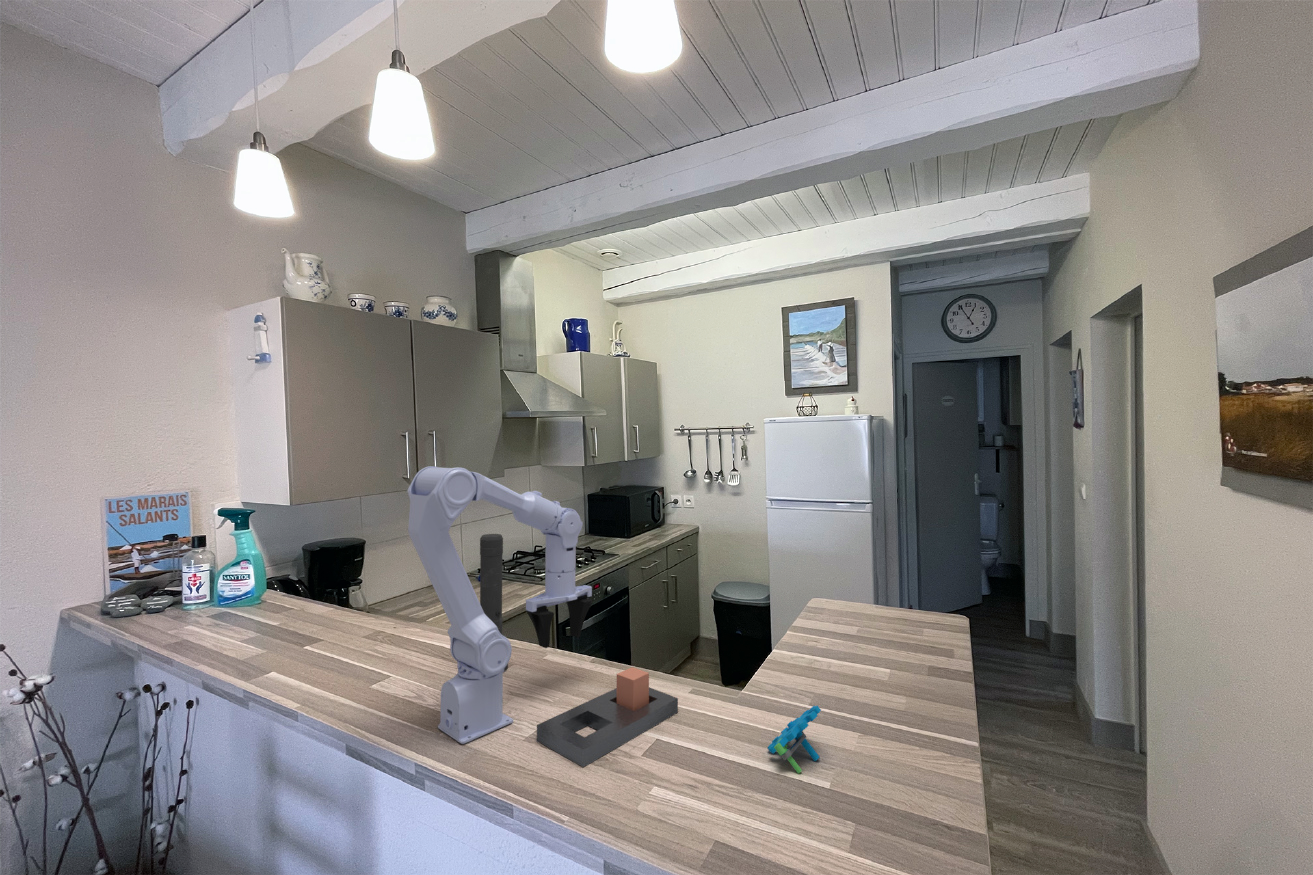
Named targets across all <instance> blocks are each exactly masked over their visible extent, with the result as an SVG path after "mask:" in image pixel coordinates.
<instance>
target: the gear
mask: <svg viewBox="0 0 1313 875" xmlns="http://www.w3.org/2000/svg"><path fill="white" fill-rule="evenodd" d="M821 711H822V710H821V708H820V707H819V705H812V707H811V708H809V709H807V710H805V711H804V712H803V713H802V714H801V715H800V716H799V717H796V718H794V719H793V720H791V721H789V722H787V724H786V726H787V727H785V728H784V729H783V730H782V731H780V733H781V734H780V735H777V736H776V737H774V739H773V740H772V741H771V743H770V744H769V745H768V746H767V749H768V751H769V752H770V753H771V754H775V753H776V752H777V753H778V755H779V756H780V757H781V758H782V759H783V761H786V760H787V761H788V762H789V763H790V765H791V766H792V768H793V769H794V771H796V773H797V774H800V773H802V771H803V770H802V768H801V767H800V765H799V764H798V763H797V762H796V760H795V759H794V758H793V757H792V755H793V754H794V752H795V751H796V750H797V749H798V748H799V746H800V745H801V746H802V747H803V749H804V750H805V751H806V752H807V754H808V755H809V756H810V758H811V759H812V760H813V762H817V760H819V759H820V755H819V754H818V753H817V751H816V750H815V749H814V748H813V746H812V745H811V743H810V742H809V741H808V740H807V735H806V734H805V732H804V730H806V729H807V728H808V727H809V723H811V722H813V721H814V720H815V719H816V718H817V717H818V716H819V714H820V712H821ZM793 740H795V742H793ZM789 742H793V743H792V745H791V746H790V747H789V744H788V743H789ZM788 747H789V748H788Z"/></svg>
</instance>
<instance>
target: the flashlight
mask: <svg viewBox="0 0 1313 875" xmlns="http://www.w3.org/2000/svg"><path fill="white" fill-rule="evenodd" d="M503 553H504V537H503V536H502V534H500V533H487V534H483V535H481V536H480V539H479V555H480V556H479V557H480V558H479V560H480V567H479V568H480V574H479V584H480V588H479V594H480V595H479V603H480V605H481V607H482V609H483V612H484V614H485V615H486V616H487V617H488V618H489V619H490V620H491V621H492V622H493V623H494V624H495V625H496V626H497V628H498V630H499V632H500V633H501V634H502V635H503V636H505V637H506V635H505V634H504V633H503ZM508 668H509V663H508V664H507V666H506V667H505V668H504V672H503V673H505V672H506V671H507V670H508Z"/></svg>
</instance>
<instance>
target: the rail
mask: <svg viewBox="0 0 1313 875" xmlns="http://www.w3.org/2000/svg"><path fill="white" fill-rule="evenodd" d="M678 707H679V698H678V697H676V696H673V695H672V694H671V695H670V694H668V693H665V692H662V691H661V690H658V689H655V688H652V687H650V686H649V704H647V705H645V706H643V707H641V708H639V709H637V710H636V711H633V710H630V709H628V708H626V707H624V706H621V705H619V704H617V687H616V688H614V689H611V690H610V691H608V692H605V693H603V694H601V695H598V696H596V697H595V698H592V699H590V700H588V701H585V702H583V703H581V704H579V705H578V706H575V707H572V708H571V709H568V710H566V711H564V712H562V713H560V714H558V715H555V716H553V717H550V718H549V719H547V720H544V721H543V722H540V723H538V724H536V742H538V743H540V744H541V745H543V746H545V747H547V748H549V749H550V750H552V751H553V752H556V753H557V754H559V755H561V756H562V757H564V758H566V759H568V760H569V761H571V762H573V763H575V764H577V765H578V766H579V767H582V768H585V767H586V766H588V765H590V764H591V763H593V762H595V761H596V760H597V761H598V759H600V758H602V757H604V756H606V755H607V754H609V753H610V752H613V751H614V750H616V749H618V748H619V747H621V746H623V745H625V744H626V743H628V742H630V741H631V740H633V739H635V738H637V737H638V736H639V735H642V734H644V733H645V732H647V731H648V730H650V729H652V728H654V727H656V726H657V725H659V724H660V723H663V722H664V721H666V720H668V719H670V718H671V717H673V716H675V715H676V714H678V713H679V708H678ZM674 714H675V715H674ZM670 716H671V717H670ZM586 727H590V728H591V729H593V730H596V731H594V732H592V733H590V734H588V735H586V736H583V735H581V734H579V733H577V732H578V731H580V730H582V729H585V728H586Z"/></svg>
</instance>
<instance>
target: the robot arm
mask: <svg viewBox="0 0 1313 875" xmlns="http://www.w3.org/2000/svg"><path fill="white" fill-rule="evenodd" d="M406 492H407V494H408V498H409V501H410V502H409V514H408V515H409V516H408V529H407V530H408V536H409V538H410V541H411V542H412V545H413V547H414V549H415V551H416V553H417V555H418V558H419V559H420V561H421V564H422V566H423V568H424V570H425V572H426V574H427V577H428V578H429V581H430V583H431V585H432V587H433V589H434V591H435V593H436V595H437V597H438V600H439V602H440V604H441V606H442V608H443V610H444V613H445V615H446V617H447V619H448V621H449V623H450V626H449V628H448V630H447V634H448V637H449V640H450V644H449V645H450V646H449V651H450V654H451V656H452V658H453V659H454V660H455V661H456V663H457V664H456V667H457V673H456V674H455V675H454V676H453V677H452V678H450V679H448V680H446V681H445V682H443V684H442V687H441V690H440V719H439V720H440V723H439V724H438V726H437V728H438V729H439V730H440V731H442V732H443V733H445V735H448V736H450V737H451V738H452V739H454V740H455V741H457V742H458V743H459V744H462V745H464V744H467V743H469V742H471V741H473V740H476V739H478V738H480V737H482V736H485V735H487V734H489V733H492V732H494V731H496V730H498V729H500V728H503V727H505V726H507V725H510V724H512V723H514V719H513V718H512V717H510V716H509V715H507V714H505V713H504V712H503V698H504V697H503V692H504V691H503V690H504V688H503V686H504V684H503V682H504V681H503V680H504V678H503V674H504V673H505V672H504V668H505V667H506V666H507V664H508V665H509V662H510V661H511V657H512V654H513V652H512V650H513V649H512V643H511V641H510V640H509V639H508V638H507V637H506V635H505V636H503V635H502V634H501V633H500V632H499V630H498V628H497V626H496V625H495V624H494V623H493V622H492V621H491V620H490V619H489V618H488V617H487V616H486V615H485V614H484V612H483V609H482V607H481V605H480V599H479V598H478V596H477V593H476V592H475V589H474V587H473V585H472V583H471V581H470V580H471V579H470V578H469V576H468V574H467V571H466V569H465V567H464V564H463V562H462V560H461V558H460V555H459V553H458V551H457V548H456V546H455V545H454V542H453V539H452V538H451V535H450V532H449V531H450V529H451V527H452V525H453V523H454V522H455V521H456V520H457V518H458V517H459V516H460V515H461V514H462V513H463V511H464V510H465V509H466V507H468V506H469V505H470V503H471V502H473V501H474V502H479V501H484V502H487V503H489V504H493V505H495V506H498V507H500V508H502V509H505V510H508V511H511V512H512V516H513V518H514V519H515V521H517V522H519V523H521V524H523V525H526V526H529V527H531V528H533V529H536V530H538V531H540V532H541V534H542V535H544V536H545V562H544V563H545V565H544V566H545V578H544V580H545V581H544V582H545V584H544V588H545V589H544V592H542V593H540V594H538V595H535V596H534V597H531V598H527V599H525V611H526V614H527V616H528V617H529V619H530V620H531V623H532V624H533V627H534V630H535V634H536V636H537V641H538V644H539V646H540V647H542V648H544V649H547V648H550V641H551V640H550V639H551V625H552V623H553V622H552V621H553V617H554V615H555V613H554V612H553V611H550V610H549V608H548V607H552V606H556V605H559V604H562V603H566V604H567V608H568V614H569V616H568V617H569V634H570V636H572V637H576V638H580V637H581V632H582V629H583V625H584V621H585V619H586V616H587V615H588V612H589V610H590V608H591V606H592V605H593V599H592V598H589V597H592V595H593V590H592V589H593V587H592V586H591V585H586V584H584V585H577V586H576V567H577V566H576V565H577V563H576V561H577V560H576V556H577V555H576V553H577V551H576V549H577V545H578V542H579V540H578V538H579V534H580V533H581V531H582V528H583V524H584V522H583V521H582V520H581V516H580V514H578V512H577V510H575V509H574V508H570V507H562V506H561V503H560V501H557V500H553V501H551V500H550V499H547V498H545V497H542V496H543V493H542V492H540V491H538V490H532V491H526V492H522V493H521V494H520V493H519V492H516V491H514V490H512V489H510V488H508V487H507V486H505V485H503V484H501V483H499V482H497V481H495V480H493V479H491V478H489V477H487V476H485V475H483V474H481V473H479V472H475V471H469V469H467V468H464V467H440V466H434V465H433V466H432V465H431V466H430V465H429V466H426V467H423V468H421V469H420V470H419V471H417V472H416V474H415V476H414V477H413V479H412V481H411V483H410V484H409V486H408V488H407V491H406Z"/></svg>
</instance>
